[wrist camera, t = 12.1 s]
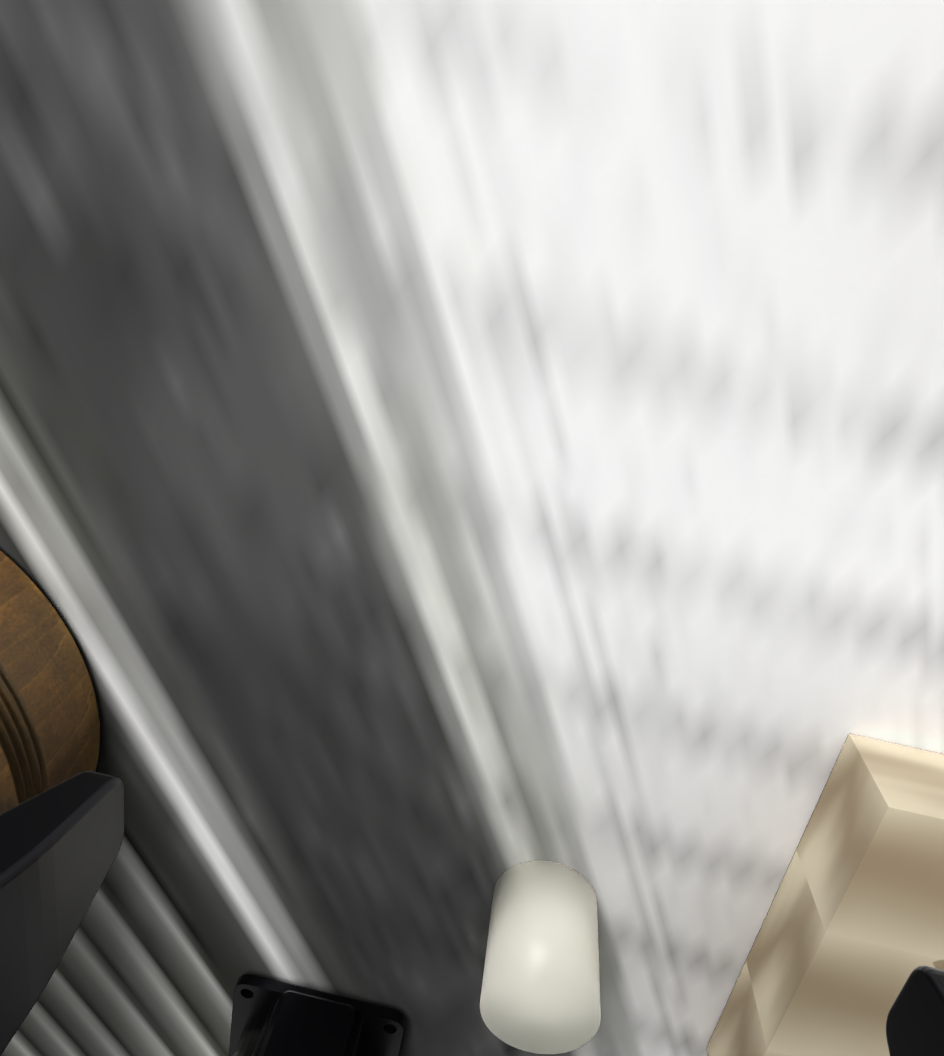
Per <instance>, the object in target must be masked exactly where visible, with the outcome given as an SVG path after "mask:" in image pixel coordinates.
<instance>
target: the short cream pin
mask: <svg viewBox="0 0 944 1056" xmlns="http://www.w3.org/2000/svg"><path fill="white" fill-rule="evenodd" d="M480 1012H481V1016H482V1019H483V1021H484V1023H485V1024H486V1026H487V1027H488V1029H489V1030H490V1031H491V1032H492V1033H493V1034H494V1035H495V1036H496V1037H498V1038H499V1039H500V1040H502V1041H503V1042H505V1043H506V1044H508V1045H510V1046H512V1047H515V1048H517V1049H520V1050H523V1051H527V1052H531V1053H537V1054H560V1053H566V1052H569V1051H573V1050H575V1049H578V1048H580V1047H582V1046H583V1045H585V1044H586V1043H588V1042H589V1041H590V1040H591V1039H592V1038H593V1037H594V1036H595V1034H596V1033H597V1031H598V1029H599V1026H600V1021H601V1009H600V978H599V947H598V917H597V898H596V894H595V891H594V889H593V887H592V886H591V884H590V883H589V881H588V880H587V879H586V878H585V877H584V876H583V875H581V874H580V873H579V872H577V871H576V870H574V869H572V868H570V867H568V866H566V865H563V864H560V863H557V862H551V861H528V862H524V863H521V864H518V865H515V866H513V867H511V868H510V869H508V870H507V871H505V872H504V873H503V874H502V875H501V876H500V878H499V879H498V881H497V882H496V885H495V887H494V892H493V900H492V908H491V916H490V925H489V933H488V941H487V949H486V957H485V966H484V974H483V982H482V990H481V998H480Z"/></svg>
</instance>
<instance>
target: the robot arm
mask: <svg viewBox="0 0 944 1056" xmlns="http://www.w3.org/2000/svg"><path fill="white" fill-rule="evenodd" d="M123 836H124V785H123V782H122V780H121V779H120V778H118V777H116V776H111V775H107V774H103V773H99V772H94V771H85V772H82V773H79V774H77V775H75V776H73V777H71V778H69V779H68V780H66V781H64V782H62V783H60V784H58V785H56V786H54V787H52V788H50V789H48V790H46V791H44V792H42V793H40V794H38V795H36V796H34V797H32V798H30V799H28V800H26V801H24V802H23V803H21V804H19V805H17V806H15V807H13V808H11V809H9V810H7V811H5V812H3V813H1V814H0V1055H1V1054H2V1052H3V1051H4V1049H5V1048H6V1046H7V1045H8V1043H9V1042H10V1040H11V1039H12V1037H13V1036H14V1034H15V1033H16V1031H17V1030H18V1028H19V1027H20V1025H21V1024H22V1022H23V1021H24V1019H25V1018H26V1016H27V1015H28V1013H29V1012H30V1010H31V1009H32V1007H33V1006H34V1004H35V1002H36V1001H37V999H38V998H39V996H40V995H41V993H42V991H43V990H44V988H45V987H46V985H47V983H48V982H49V980H50V978H51V976H52V974H53V973H54V971H55V969H56V967H57V966H58V964H59V962H60V960H61V958H62V956H63V955H64V953H65V951H66V949H67V947H68V945H69V943H70V941H71V940H72V938H73V936H74V934H75V932H76V930H77V928H78V927H79V925H80V923H81V921H82V919H83V917H84V915H85V913H86V912H87V910H88V908H89V906H90V904H91V902H92V900H93V898H94V897H95V895H96V893H97V891H98V889H99V887H100V885H101V884H102V882H103V880H104V878H105V876H106V874H107V872H108V870H109V869H110V867H111V865H112V863H113V861H114V859H115V857H116V856H117V853H118V851H119V849H120V846H121V844H122V840H123ZM404 1026H405V1017H404V1016H403V1014H401V1013H400V1012H399V1011H396V1010H393V1009H389V1008H385V1007H381V1006H377V1005H373V1004H369V1003H365V1002H361V1001H357V1000H352V999H348V998H344V997H340V996H336V995H332V994H328V993H324V992H320V991H316V990H312V989H308V988H304V987H299V986H295V985H291V984H287V983H283V982H279V981H275V980H271V979H267V978H263V977H259V976H255V975H249V974H246V975H242V976H241V977H240V978H239V980H238V982H237V985H236V987H235V990H234V998H233V1011H232V1023H231V1036H230V1048H229V1056H398V1054H399V1050H400V1045H401V1040H402V1036H403V1031H404ZM886 1038H887V1044H888V1049H889V1054H890V1056H944V970H942V969H937V968H933V967H929V966H919V967H917V968H915V969H914V970H913V971H912V972H911V974H910V975H909V977H908V979H907V981H906V982H905V984H904V986H903V988H902V989H901V991H900V993H899V995H898V996H897V998H896V1000H895V1001H894V1003H893V1005H892V1007H891V1008H890V1010H889V1012H888V1016H887V1020H886Z"/></svg>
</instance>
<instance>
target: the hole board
mask: <svg viewBox="0 0 944 1056" xmlns="http://www.w3.org/2000/svg"><path fill="white" fill-rule="evenodd" d="M919 966H929V967H933V968H937V969H942V970H944V754H939V753H935V752H930V751H926V750H921V749H916V748H912V747H907V746H903V745H898V744H894V743H889V742H885V741H880V740H876V739H871V738H867V737H862V736H858V735H853V734H849V735H848V737H847V739H846V741H845V744H844V746H843V748H842V750H841V752H840V755H839V757H838V759H837V761H836V763H835V766H834V768H833V770H832V772H831V774H830V777H829V779H828V781H827V783H826V785H825V788H824V790H823V792H822V794H821V796H820V799H819V801H818V803H817V805H816V808H815V810H814V812H813V814H812V816H811V819H810V821H809V823H808V825H807V827H806V830H805V832H804V834H803V836H802V838H801V841H800V843H799V845H798V847H797V849H796V852H795V854H794V856H793V858H792V860H791V863H790V865H789V867H788V869H787V871H786V874H785V876H784V878H783V880H782V882H781V885H780V887H779V889H778V891H777V893H776V896H775V898H774V900H773V902H772V905H771V907H770V909H769V911H768V913H767V916H766V918H765V920H764V922H763V924H762V927H761V929H760V931H759V933H758V935H757V938H756V940H755V942H754V944H753V946H752V949H751V951H750V953H749V955H748V957H747V960H746V962H745V964H744V966H743V968H742V971H741V973H740V975H739V977H738V979H737V982H736V984H735V986H734V988H733V990H732V993H731V995H730V997H729V999H728V1001H727V1004H726V1006H725V1008H724V1010H723V1013H722V1015H721V1017H720V1019H719V1021H718V1024H717V1026H716V1028H715V1030H714V1032H713V1035H712V1037H711V1039H710V1041H709V1043H708V1046H707V1051H708V1056H890V1054H889V1049H888V1044H887V1038H886V1020H887V1016H888V1012H889V1010H890V1008H891V1007H892V1005H893V1003H894V1001H895V1000H896V998H897V996H898V995H899V993H900V991H901V989H902V988H903V986H904V984H905V982H906V981H907V979H908V977H909V975H910V974H911V972H912V971H913V970H914V969H915V968H917V967H919Z"/></svg>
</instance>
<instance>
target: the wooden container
mask: <svg viewBox="0 0 944 1056" xmlns="http://www.w3.org/2000/svg"><path fill="white" fill-rule="evenodd" d="M99 747H100V720H99V713H98V705H97V699H96V695H95V691H94V688H93V684H92V681H91V678H90V675H89V672H88V670H87V667H86V665H85V662H84V660H83V658H82V655H81V653H80V651H79V649H78V647H77V645H76V643H75V641H74V639H73V637H72V636H71V634H70V632H69V630H68V629H67V627H66V626H65V624H64V623H63V621H62V619H61V618H60V616H59V615H58V613H57V612H56V610H55V609H54V608H53V606H52V605H51V604H50V602H49V601H48V600H47V598H46V597H45V596H44V595H43V593H42V592H41V591H40V590H39V589H38V587H37V586H36V585H35V584H34V583H33V582H32V580H31V579H30V578H29V577H28V576H27V575H26V574H25V573H24V572H23V571H22V570H21V569H20V568H19V567H18V566H17V565H16V564H15V563H14V562H13V561H12V560H11V559H9V558H8V557H7V556H6V555H5V554H4V553H3V552H2V551H0V814H1V813H3V812H5V811H7V810H9V809H11V808H13V807H15V806H17V805H19V804H21V803H23V802H24V801H26V800H28V799H30V798H32V797H34V796H36V795H38V794H40V793H42V792H44V791H46V790H48V789H50V788H52V787H54V786H56V785H58V784H60V783H62V782H64V781H66V780H68V779H69V778H71V777H73V776H75V775H77V774H79V773H82V772H85V771H94V772H95V770H96V767H97V762H98V756H99Z"/></svg>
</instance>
